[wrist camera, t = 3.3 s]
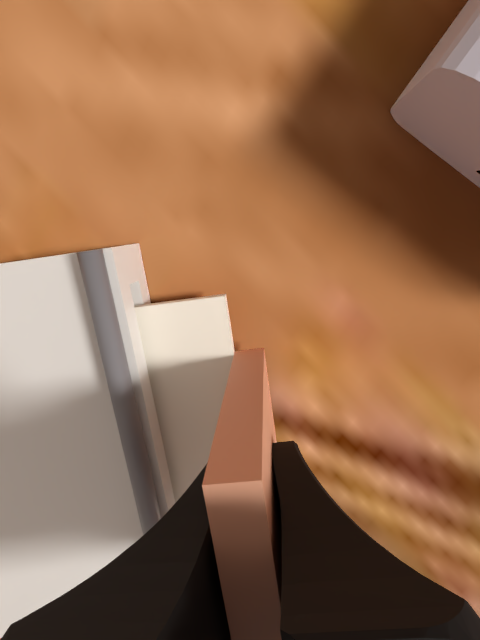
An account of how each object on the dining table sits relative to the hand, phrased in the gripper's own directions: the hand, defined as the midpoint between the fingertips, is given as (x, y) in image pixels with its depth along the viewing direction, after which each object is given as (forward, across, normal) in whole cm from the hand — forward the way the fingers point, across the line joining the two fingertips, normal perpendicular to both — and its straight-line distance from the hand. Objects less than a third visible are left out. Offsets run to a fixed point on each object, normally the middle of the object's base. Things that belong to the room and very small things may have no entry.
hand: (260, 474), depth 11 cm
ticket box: (+4, +9, 0) cm, 10 cm away
